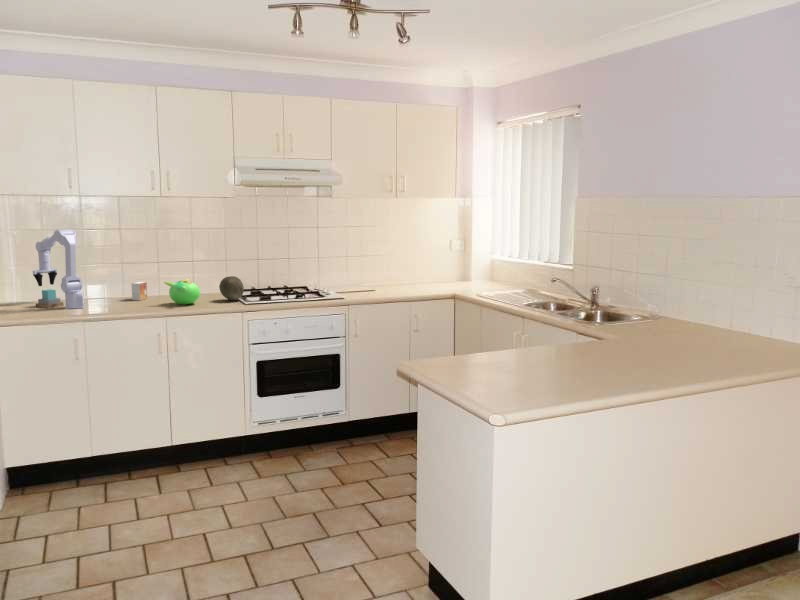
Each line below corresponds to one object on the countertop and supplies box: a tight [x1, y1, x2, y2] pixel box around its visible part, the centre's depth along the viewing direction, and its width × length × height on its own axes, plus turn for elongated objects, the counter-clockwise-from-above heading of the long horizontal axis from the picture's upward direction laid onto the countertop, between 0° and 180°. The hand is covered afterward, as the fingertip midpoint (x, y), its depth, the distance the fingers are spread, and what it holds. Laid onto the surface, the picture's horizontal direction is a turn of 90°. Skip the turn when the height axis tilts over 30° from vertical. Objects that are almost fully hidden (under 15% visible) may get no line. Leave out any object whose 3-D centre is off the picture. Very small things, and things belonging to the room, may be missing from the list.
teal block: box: [41, 288, 57, 300], centre depth 389 cm, size 5×5×5 cm
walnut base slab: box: [35, 301, 64, 309], centre depth 390 cm, size 10×10×2 cm
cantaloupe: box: [218, 275, 245, 302], centre depth 415 cm, size 14×14×15 cm
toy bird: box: [163, 278, 201, 306], centre depth 400 cm, size 18×17×15 cm
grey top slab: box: [37, 297, 61, 305], centre depth 389 cm, size 8×8×2 cm
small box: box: [131, 281, 148, 301], centre depth 415 cm, size 8×6×10 cm
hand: (46, 285), depth 399 cm, fingers open, 7 cm apart
